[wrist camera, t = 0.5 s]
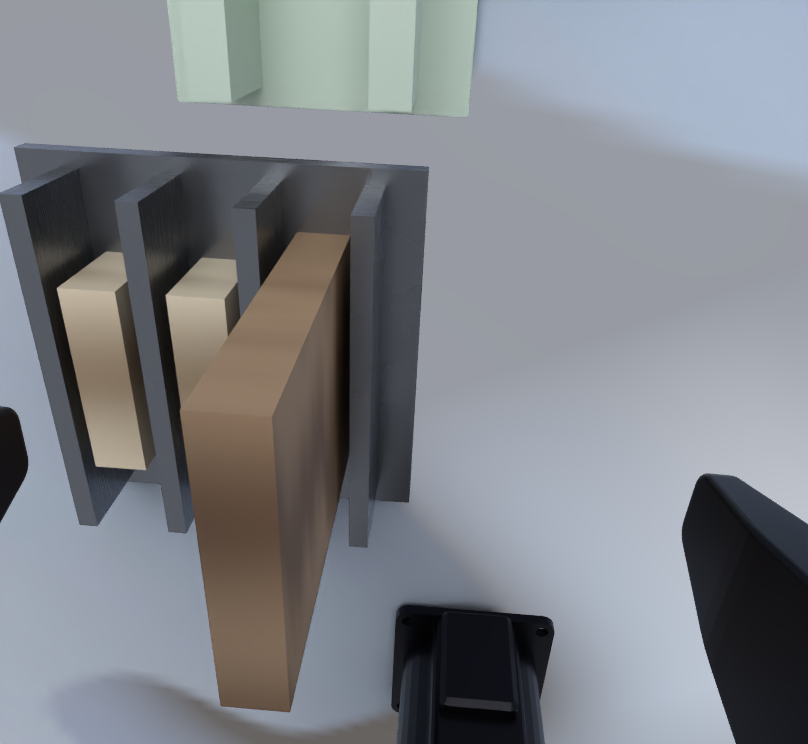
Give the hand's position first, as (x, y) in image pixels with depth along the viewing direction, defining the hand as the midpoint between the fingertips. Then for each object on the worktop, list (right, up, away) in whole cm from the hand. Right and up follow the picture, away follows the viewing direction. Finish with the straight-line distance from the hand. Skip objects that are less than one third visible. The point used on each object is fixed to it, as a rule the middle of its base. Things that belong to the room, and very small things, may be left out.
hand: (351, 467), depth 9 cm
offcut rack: (-5, +2, +14) cm, 15 cm away
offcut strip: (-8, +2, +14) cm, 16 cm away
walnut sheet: (-2, +2, +13) cm, 14 cm away
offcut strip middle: (-5, +2, +14) cm, 15 cm away
